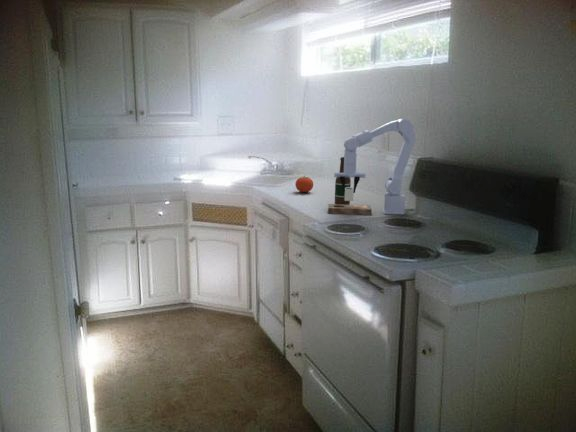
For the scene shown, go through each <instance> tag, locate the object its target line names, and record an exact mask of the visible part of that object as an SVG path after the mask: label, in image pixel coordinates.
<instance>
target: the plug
mask: <svg viewBox="0 0 576 432" xmlns="http://www.w3.org/2000/svg"><path fill="white" fill-rule="evenodd" d="M354 194H355V193H354V187H353V186H351V187H346V188H345V201H350V202H353V201H354Z"/></svg>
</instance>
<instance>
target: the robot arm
mask: <svg viewBox="0 0 576 432" xmlns="http://www.w3.org/2000/svg"><path fill="white" fill-rule="evenodd" d="M388 132H398V133H399V135H400V136H401V138H402V139H403V142H402V145H401V148H400V150H399V153H398V156H397V159H396V162H395V165H394V167H393V171H392V172H391V174H390V175H389V177H388V180H387V179H386V181H385V184H384V187H385V188H384V189H385V190H386V192H385V191H384V203H383V209H381V210H382V213H383V214H384V215H405V205H406V196H405V194H401V191H402V183H403V176H404V173H405V171H406V168H407V164H408V162H409V160H410V156H411V154H412V151H413V149H414V146H415V144H416V140H417V139H416V133H415V129H414V124H413V123H412V122H411V120H410V119H407V118H398V119H397V120H396V119H395V120H392V121H389V122H387V123H384V124H383V125H381V126H379V127H377V128H374V129H373V130H371V131H370V130H364V129H363V130H361V132H360V133H357V134H353V135H352V137H348V138H346V139H345V141H344V143H343V147H344V155H343V157H344V173H339V172H334V173H333V178H337V177H340V181H341V183H342V186H343V193H345V177H350V178H353V189H354V194H355V193H356V189H357V187H358V184H359V181H360V180H361V178H362V179H366V173H365V172H364V173H363V172H357V149H358V147H359V148H360V147H363V146H366V145H367V144H370V143H372V142H373V139H374V138H375V137H378V136H381V135H383V134H385V133H388Z"/></svg>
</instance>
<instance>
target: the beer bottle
mask: <svg viewBox="0 0 576 432" xmlns="http://www.w3.org/2000/svg"><path fill="white" fill-rule="evenodd" d="M339 161H340V165H339V172H338V173H344V156H342V157H340V160H339ZM334 183H335V184H334V186H335V187H334V204H344V205H351V201H345V193H343V186H342V183H341V181H340V177H335V182H334ZM351 183H352V182H351V177H345V188H346V187H352V186H351Z"/></svg>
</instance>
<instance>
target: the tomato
mask: <svg viewBox="0 0 576 432" xmlns="http://www.w3.org/2000/svg"><path fill="white" fill-rule="evenodd" d="M313 187H314V182H313V179H311V178H310V177H309V176H308V177H307V176H306V175H304V176H299V177H298V178H297V179H296V181H295V188H296V189H297V191H298V192H300V193H303V192H306V193H309V192H310V191H312V190H313Z"/></svg>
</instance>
